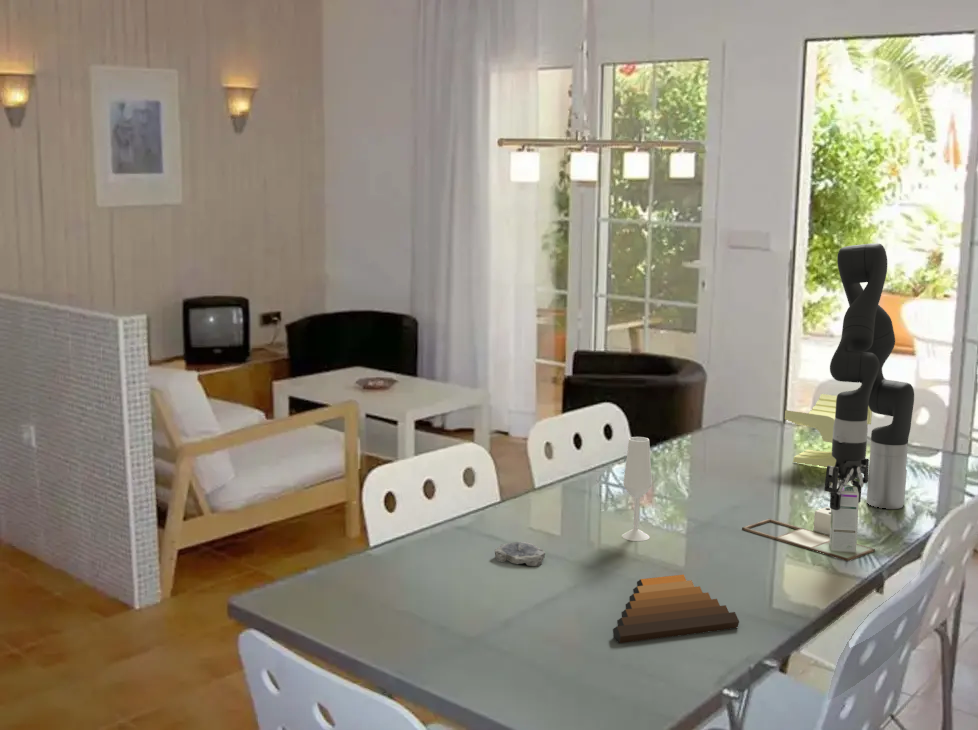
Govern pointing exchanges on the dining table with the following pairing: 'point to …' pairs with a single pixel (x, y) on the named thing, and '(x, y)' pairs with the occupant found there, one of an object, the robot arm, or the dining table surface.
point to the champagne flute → (637, 480)
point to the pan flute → (670, 611)
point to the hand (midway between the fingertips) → (845, 505)
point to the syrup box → (845, 521)
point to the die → (822, 520)
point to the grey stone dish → (520, 553)
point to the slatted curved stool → (819, 428)
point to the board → (811, 541)
